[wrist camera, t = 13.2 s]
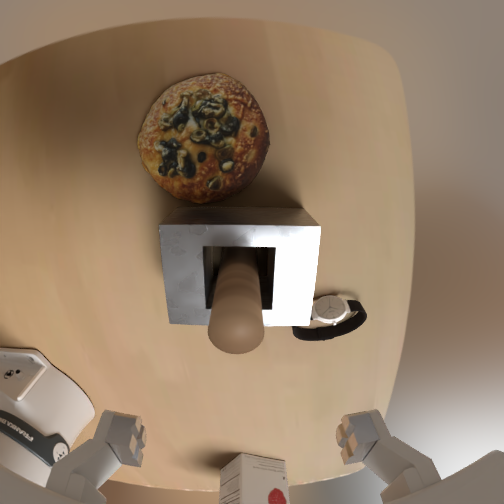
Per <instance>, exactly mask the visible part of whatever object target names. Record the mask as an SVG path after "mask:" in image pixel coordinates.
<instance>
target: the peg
mask: <svg viewBox="0 0 504 504" xmlns="http://www.w3.org/2000/svg"><path fill="white" fill-rule="evenodd" d="M208 336H209V339H210V341H211V342H212V343H213V345H214V346H215V347H217V348H218V349H220V350H221V351H224V352H226V353H231V354H243V353H247V352H250V351H252V350H254V349H255V348H256V347H258V346H259V345H260V343H261V342H262V340H263V337H264V323H263V314H262V304H261V294H260V285H259V275H258V265H257V256H256V249H255V247H241V246H224V249H223V254H222V259H221V263H220V268H219V273H218V279H217V284H216V289H215V294H214V299H213V304H212V310H211V315H210V320H209V326H208Z"/></svg>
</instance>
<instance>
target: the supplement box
mask: <svg viewBox="0 0 504 504" xmlns="http://www.w3.org/2000/svg"><path fill="white" fill-rule="evenodd" d="M219 504H290V500H289V491H288V481H287V472H286V463H285V461H280V460H274V459H269V458H264V457H258V456H254V455H249V454H244V453H241V454H240V455H238V456H237V457H236V458H235V459H233V460H232V461H231V462H230V463H228V464H227V465H226V466H225V467H223V468H222V469H221V477H220V495H219Z"/></svg>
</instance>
